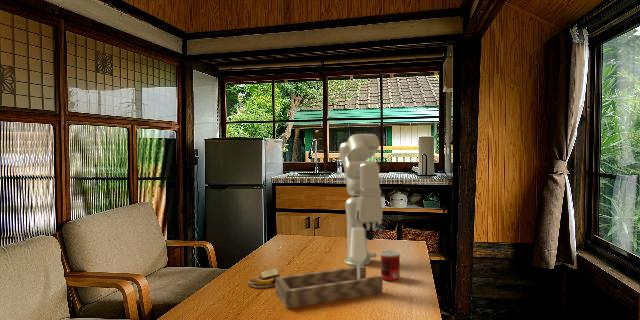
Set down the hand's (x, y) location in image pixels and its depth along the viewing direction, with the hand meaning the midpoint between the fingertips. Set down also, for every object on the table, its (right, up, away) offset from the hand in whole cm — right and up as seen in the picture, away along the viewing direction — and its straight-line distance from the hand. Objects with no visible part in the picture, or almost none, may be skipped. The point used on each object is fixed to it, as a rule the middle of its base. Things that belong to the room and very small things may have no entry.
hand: (369, 239), depth 157 cm
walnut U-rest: (-16, -20, -5) cm, 26 cm away
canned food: (+10, -19, +10) cm, 24 cm away
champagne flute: (-4, -20, -1) cm, 20 cm away
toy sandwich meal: (-43, -20, +7) cm, 48 cm away
